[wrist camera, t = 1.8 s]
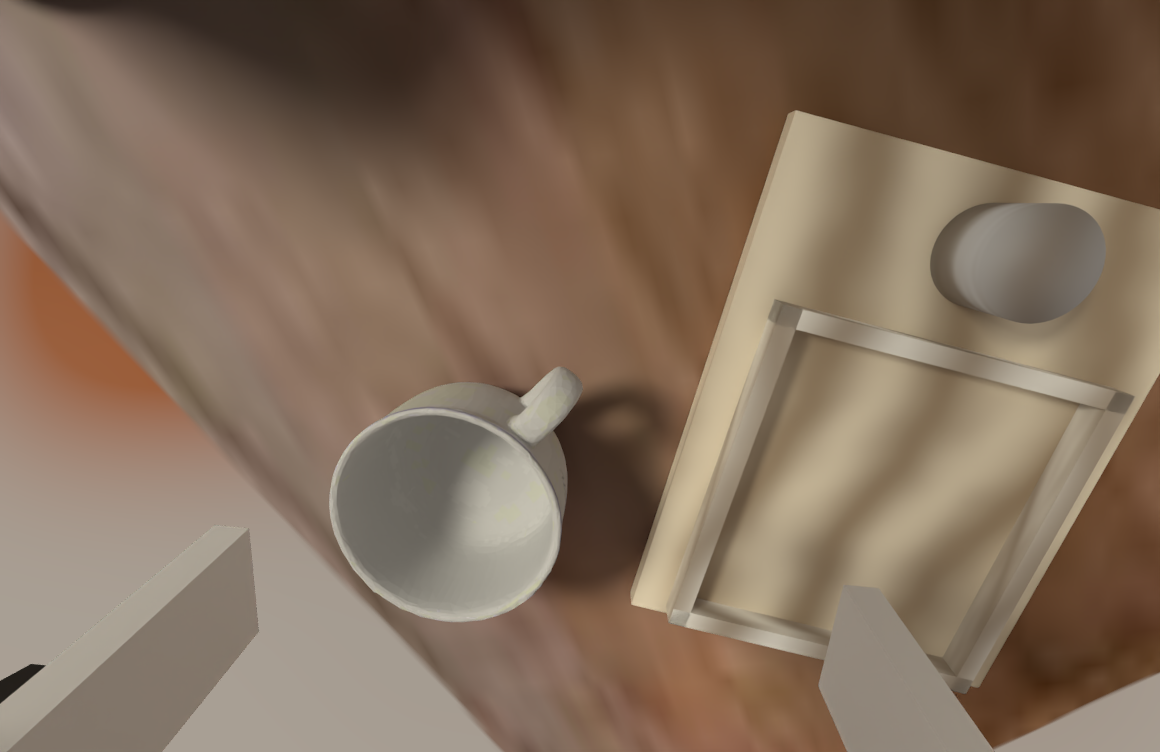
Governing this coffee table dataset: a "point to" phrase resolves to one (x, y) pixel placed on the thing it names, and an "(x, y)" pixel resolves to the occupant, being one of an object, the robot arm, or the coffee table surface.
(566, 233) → the coffee table surface
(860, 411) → the carrier board
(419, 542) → the teacup
